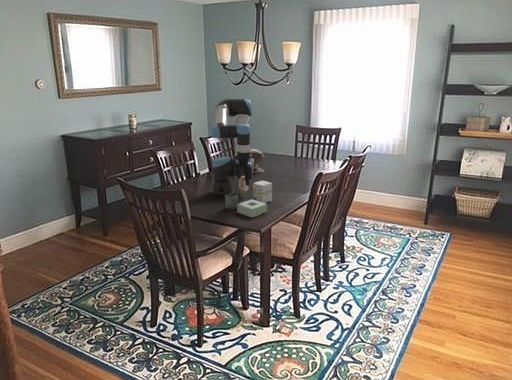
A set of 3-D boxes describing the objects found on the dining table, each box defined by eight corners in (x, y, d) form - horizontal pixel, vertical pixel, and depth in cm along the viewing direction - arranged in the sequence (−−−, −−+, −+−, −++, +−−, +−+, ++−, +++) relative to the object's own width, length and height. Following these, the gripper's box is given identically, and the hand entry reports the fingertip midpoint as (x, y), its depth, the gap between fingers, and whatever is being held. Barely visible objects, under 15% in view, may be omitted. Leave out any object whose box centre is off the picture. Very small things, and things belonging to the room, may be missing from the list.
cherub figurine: (243, 168, 332) (242, 146, 326) (265, 168, 331) (265, 146, 326) (242, 173, 315) (241, 150, 309) (265, 173, 315) (265, 150, 309)
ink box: (252, 200, 251) (252, 182, 248) (262, 197, 257) (262, 180, 253) (262, 204, 245) (262, 185, 242) (272, 200, 251) (272, 182, 247)
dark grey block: (225, 207, 239) (224, 195, 236) (232, 205, 242) (232, 192, 240) (231, 210, 235) (231, 197, 233) (238, 207, 239) (238, 194, 236)
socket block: (237, 212, 231) (237, 204, 230) (252, 207, 239) (252, 199, 238) (252, 217, 223) (252, 209, 222) (267, 212, 231) (267, 203, 230)
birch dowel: (239, 196, 243) (239, 176, 239) (243, 194, 246) (243, 175, 242) (243, 197, 241) (243, 178, 237) (247, 196, 243) (247, 177, 239)
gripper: (229, 150, 238) (229, 188, 245) (248, 154, 227) (249, 194, 234) (238, 148, 243) (239, 185, 250) (258, 152, 232) (258, 191, 239)
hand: (243, 189), depth 242 cm, fingers closed on birch dowel, 3 cm apart
